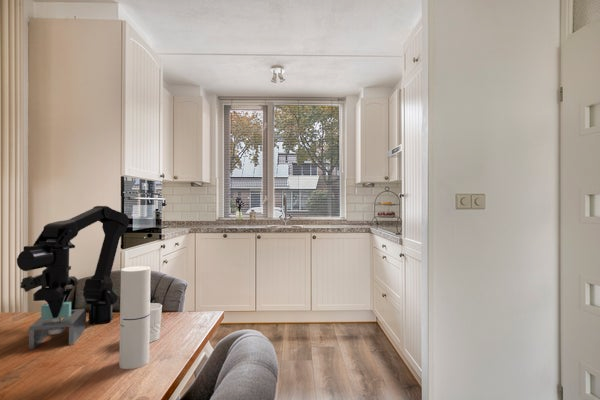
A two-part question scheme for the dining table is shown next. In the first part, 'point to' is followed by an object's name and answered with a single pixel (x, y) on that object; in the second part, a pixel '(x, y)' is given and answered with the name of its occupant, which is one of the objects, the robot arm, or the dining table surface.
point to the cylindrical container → (134, 317)
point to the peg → (63, 313)
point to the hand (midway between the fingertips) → (56, 315)
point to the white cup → (155, 321)
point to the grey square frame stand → (73, 322)
